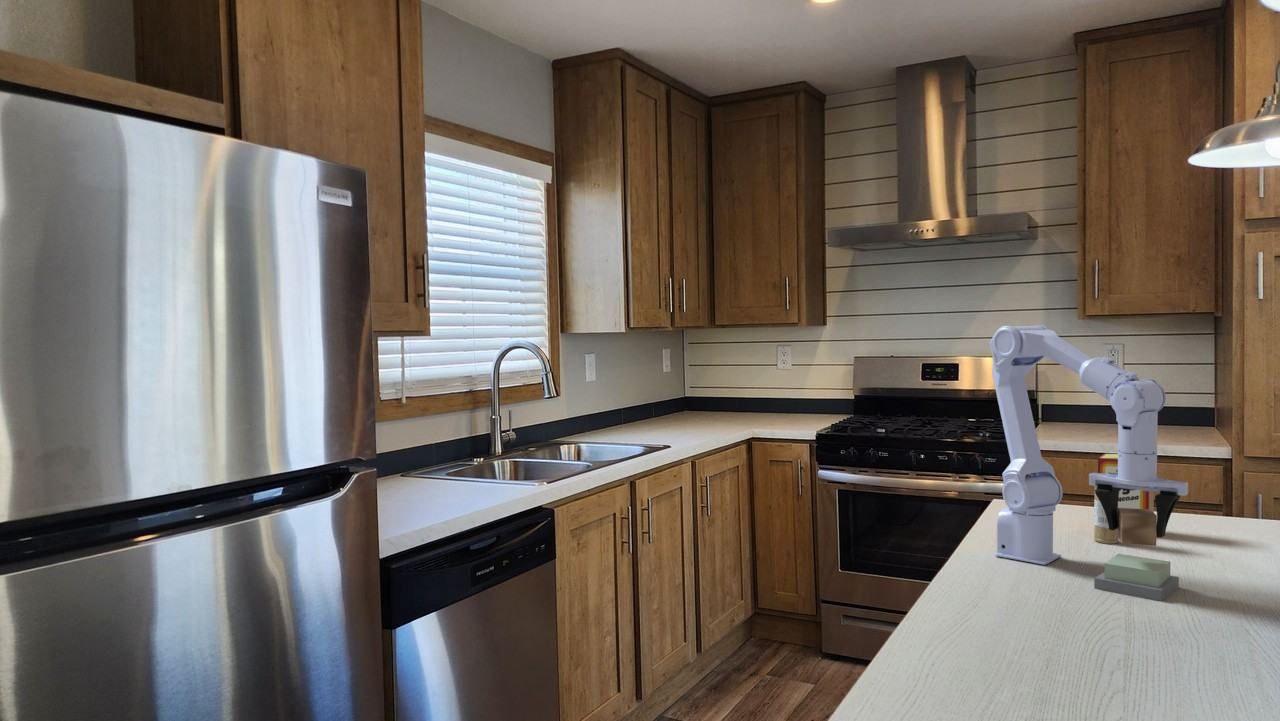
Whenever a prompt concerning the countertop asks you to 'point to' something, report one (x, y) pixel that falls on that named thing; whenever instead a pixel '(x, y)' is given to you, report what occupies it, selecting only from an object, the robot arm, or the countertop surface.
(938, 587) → the countertop surface
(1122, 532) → the walnut block
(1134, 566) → the tower top
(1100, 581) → the tower base
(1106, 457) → the baking soda box
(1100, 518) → the sprinkles bottle
